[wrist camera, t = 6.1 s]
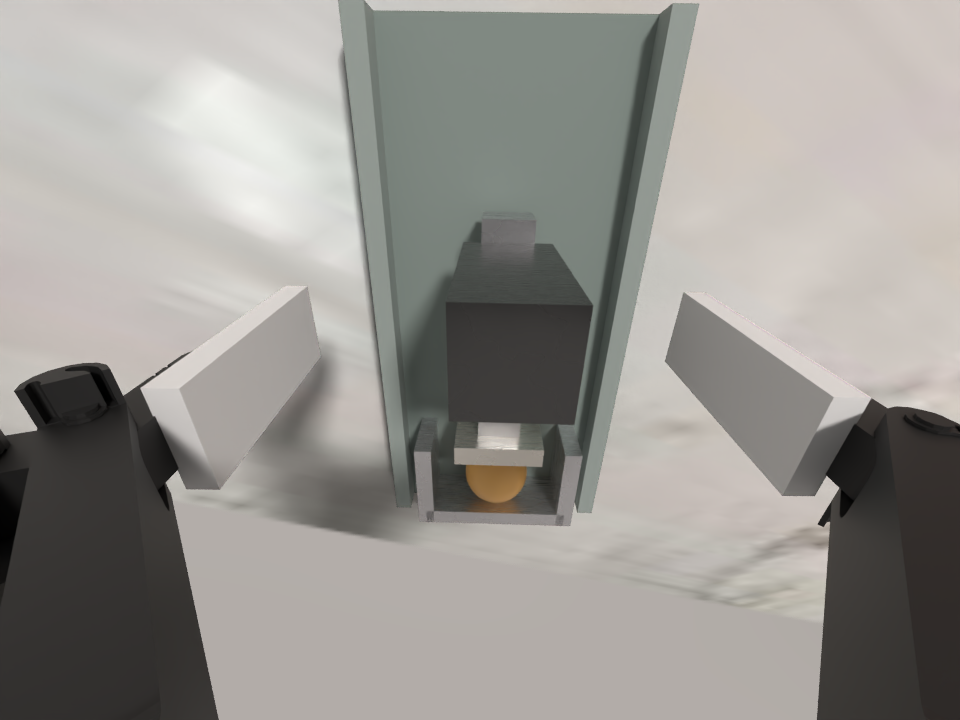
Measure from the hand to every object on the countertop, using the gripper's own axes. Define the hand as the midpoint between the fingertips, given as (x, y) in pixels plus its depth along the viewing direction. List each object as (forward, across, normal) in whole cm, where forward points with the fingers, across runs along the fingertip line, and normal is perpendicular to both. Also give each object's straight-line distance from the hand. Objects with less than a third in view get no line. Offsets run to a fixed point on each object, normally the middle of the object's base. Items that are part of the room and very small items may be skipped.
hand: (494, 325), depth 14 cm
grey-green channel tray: (+9, +1, -3) cm, 10 cm away
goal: (+9, +1, -13) cm, 16 cm away
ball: (+6, +1, -13) cm, 14 cm away
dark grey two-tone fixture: (+8, +1, -4) cm, 9 cm away
